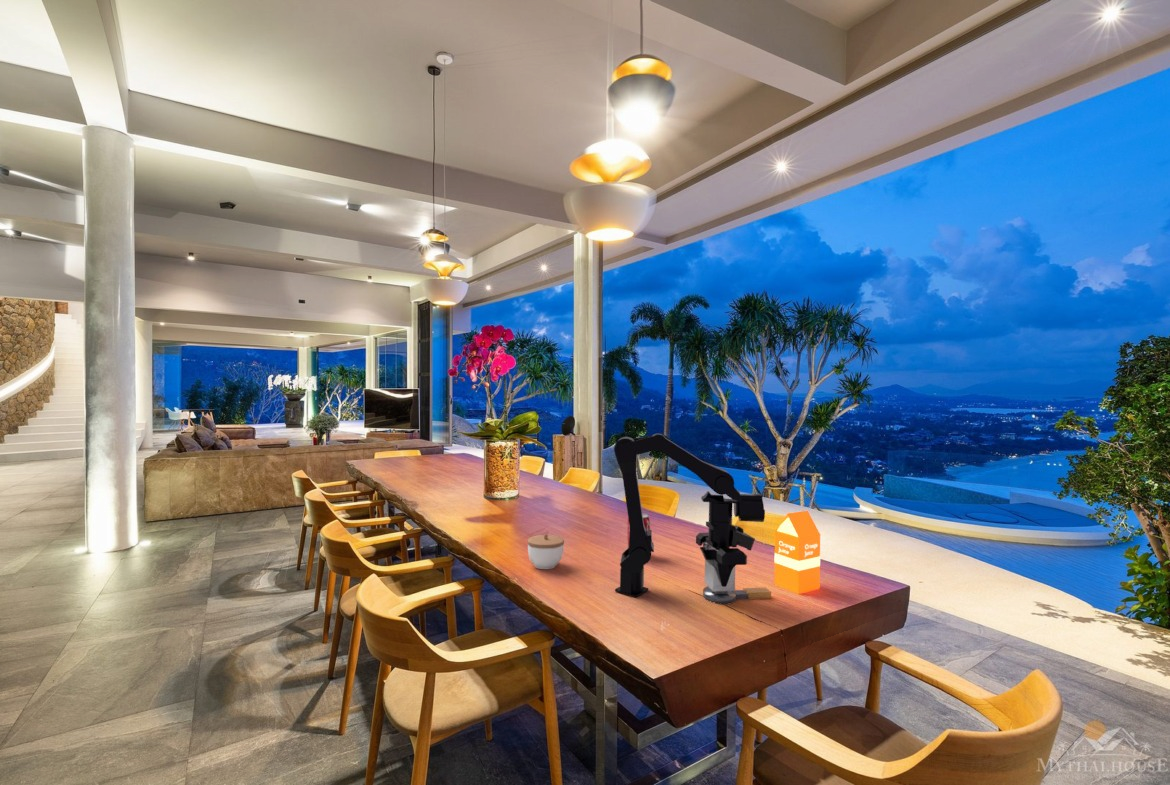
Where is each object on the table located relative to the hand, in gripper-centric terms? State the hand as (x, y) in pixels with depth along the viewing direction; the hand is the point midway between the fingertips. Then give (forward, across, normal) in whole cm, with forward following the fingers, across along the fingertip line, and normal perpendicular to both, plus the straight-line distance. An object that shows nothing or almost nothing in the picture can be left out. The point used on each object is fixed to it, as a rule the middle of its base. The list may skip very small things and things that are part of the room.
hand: (719, 582), depth 126 cm
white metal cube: (+1, 0, 0) cm, 1 cm away
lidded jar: (+4, +27, +42) cm, 50 cm away
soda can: (+4, +34, +13) cm, 36 cm away
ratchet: (+4, 0, -5) cm, 6 cm away
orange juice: (+4, +6, -24) cm, 25 cm away
